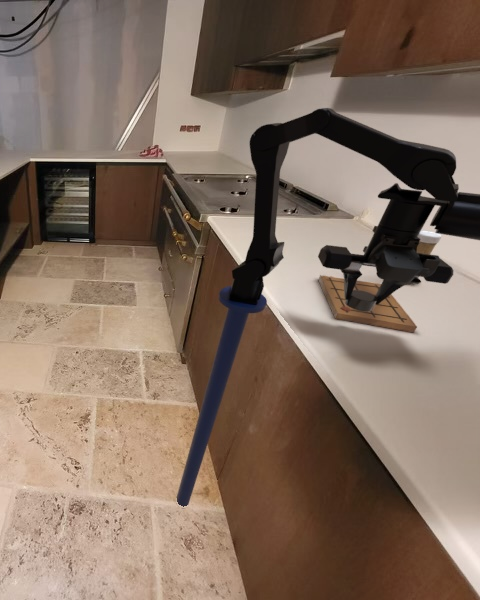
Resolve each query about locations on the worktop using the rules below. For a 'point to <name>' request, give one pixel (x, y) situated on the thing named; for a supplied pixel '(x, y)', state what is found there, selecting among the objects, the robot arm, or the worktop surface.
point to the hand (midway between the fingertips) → (360, 301)
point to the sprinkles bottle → (427, 241)
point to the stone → (361, 301)
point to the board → (381, 315)
